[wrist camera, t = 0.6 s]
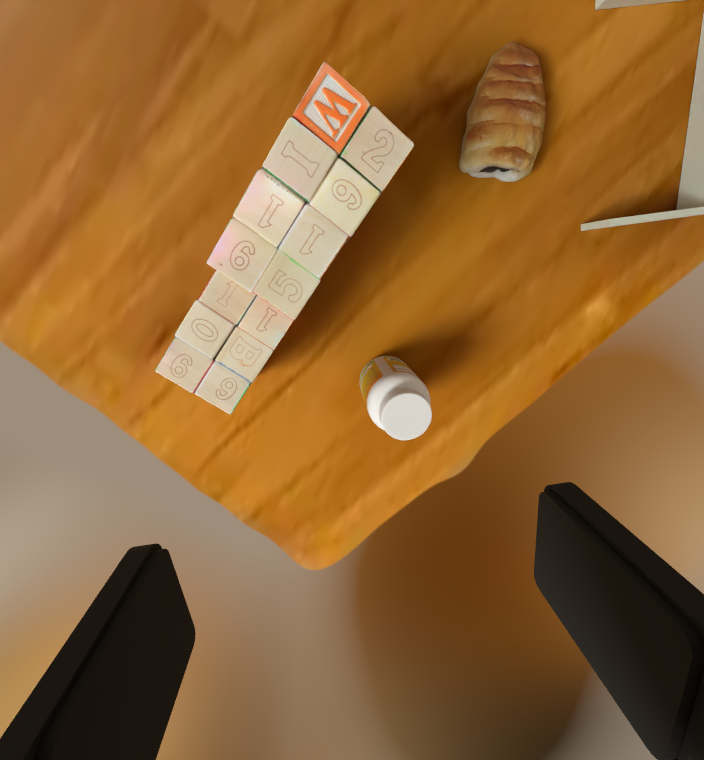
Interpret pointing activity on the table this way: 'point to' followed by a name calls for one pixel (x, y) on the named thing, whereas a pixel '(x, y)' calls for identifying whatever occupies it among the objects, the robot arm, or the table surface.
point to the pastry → (505, 117)
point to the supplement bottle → (395, 398)
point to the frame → (700, 163)
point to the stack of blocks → (284, 237)
